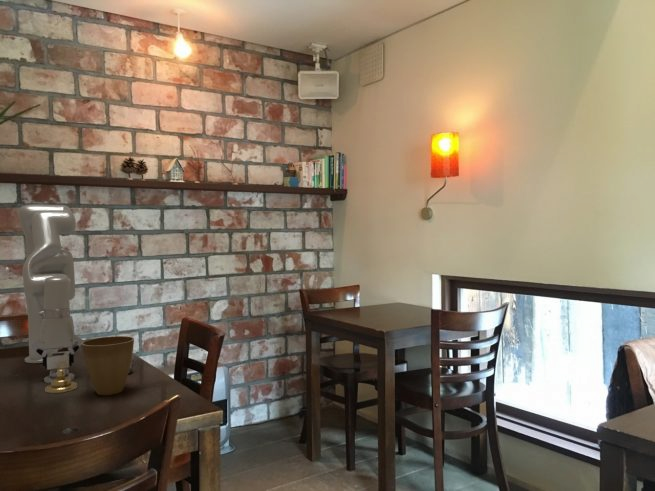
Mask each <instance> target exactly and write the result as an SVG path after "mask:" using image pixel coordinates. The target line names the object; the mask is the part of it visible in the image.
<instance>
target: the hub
mask: <svg viewBox="0 0 655 491" xmlns="http://www.w3.org/2000/svg"><path fill="white" fill-rule="evenodd" d="M65 369H66V368H65ZM65 369H63V368H62V369H57V378H55V379H52V380H51V383H50V384H48V385H46V386H45V388H44V392H45V393H47V394H62V393H66V392H67V393H69V392H72V391H74V390H76V389H77V388H78V383H77V382H75V381H72V380H71V378H70V377H65Z"/></svg>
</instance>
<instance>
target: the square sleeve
mask: <svg viewBox="0 0 655 491" xmlns="http://www.w3.org/2000/svg"><path fill="white" fill-rule="evenodd" d="M69 353H70V352H69V350H67V351H58V352H54V353H48V355H47V369H46V370H48V371H49V370H50V371H51V370H55V369H59V368H65V369H69V368H70V366H69Z"/></svg>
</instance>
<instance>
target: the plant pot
mask: <svg viewBox="0 0 655 491" xmlns="http://www.w3.org/2000/svg"><path fill="white" fill-rule="evenodd" d="M83 341H84V342H82V345H81V348H82V353H83V357H84V358H83V359H84V361H85V365H86V369H87V372H88V375H89V378H90V381H91V383H92V386H93V388H94V390H95V392H96V394H97V395H99V396H113V395H116V394H120V393H121V392H123V391H124V388H125V385H126V382H127V379H128V376H129V374H128V372H129V368H130V364H131V362H132V359H133V351H134V346H135V345H134V343H135V338H134V337H133V336H125V335H124V336H123V335H115V336H103V337H96V338H91V339H88V340H87V339H86V340H83Z"/></svg>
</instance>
